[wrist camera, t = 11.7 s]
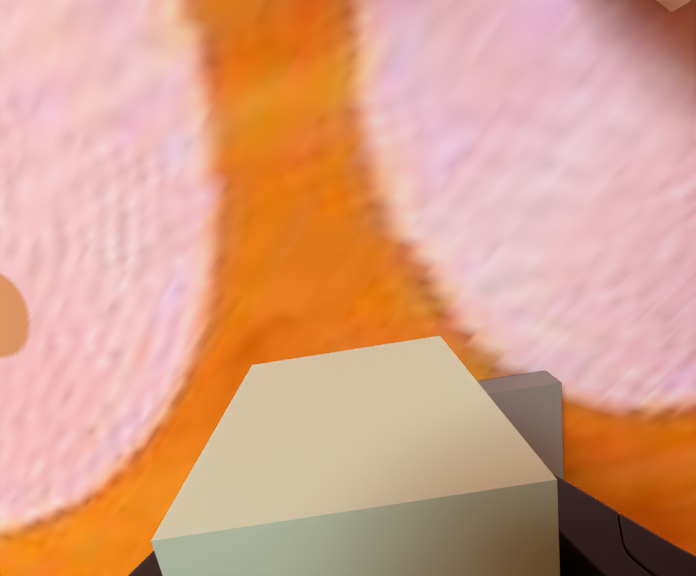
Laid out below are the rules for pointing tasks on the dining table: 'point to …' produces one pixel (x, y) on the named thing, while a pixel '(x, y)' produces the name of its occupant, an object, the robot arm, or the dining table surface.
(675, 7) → the puzzle toy
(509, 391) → the base board
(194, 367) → the dining table surface
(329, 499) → the sage cube
